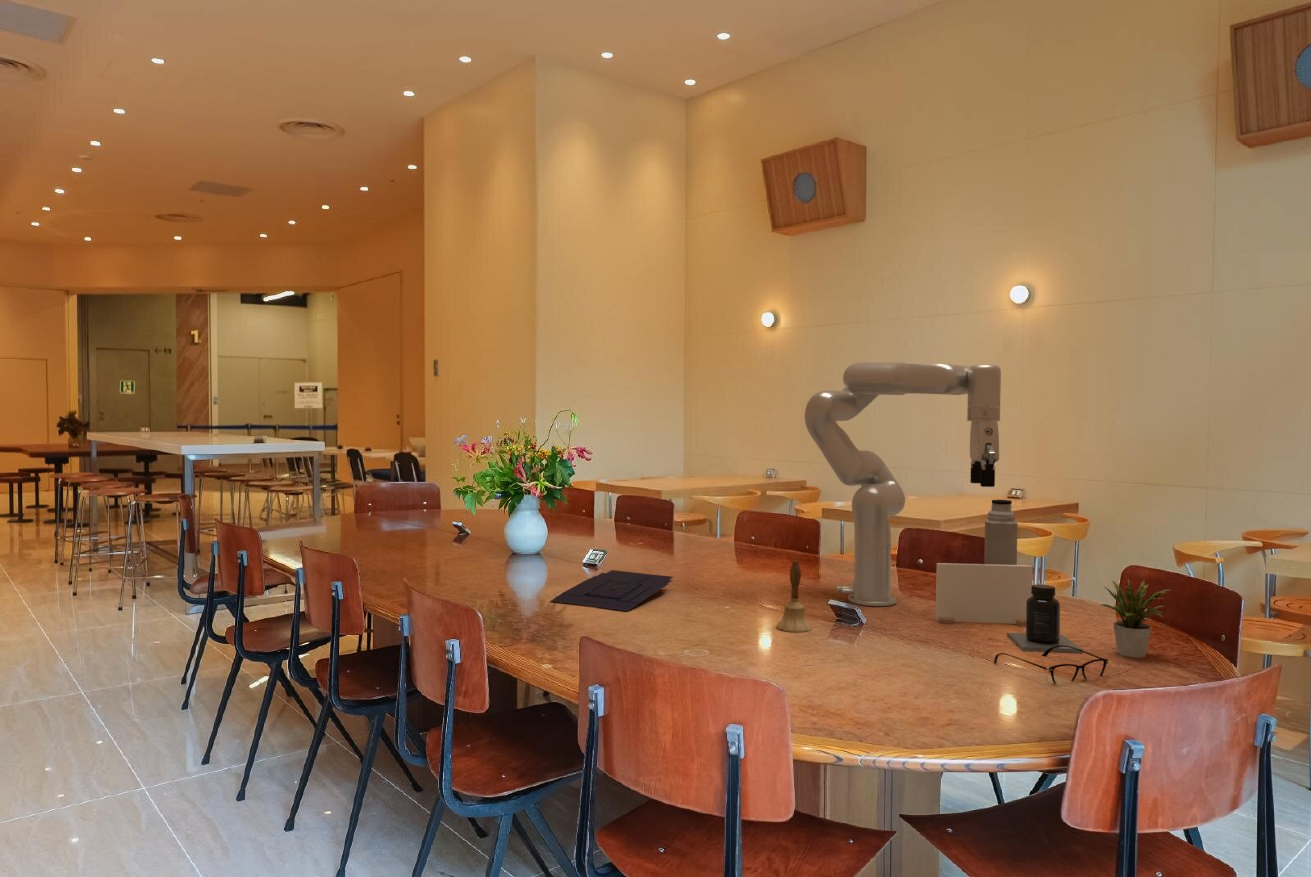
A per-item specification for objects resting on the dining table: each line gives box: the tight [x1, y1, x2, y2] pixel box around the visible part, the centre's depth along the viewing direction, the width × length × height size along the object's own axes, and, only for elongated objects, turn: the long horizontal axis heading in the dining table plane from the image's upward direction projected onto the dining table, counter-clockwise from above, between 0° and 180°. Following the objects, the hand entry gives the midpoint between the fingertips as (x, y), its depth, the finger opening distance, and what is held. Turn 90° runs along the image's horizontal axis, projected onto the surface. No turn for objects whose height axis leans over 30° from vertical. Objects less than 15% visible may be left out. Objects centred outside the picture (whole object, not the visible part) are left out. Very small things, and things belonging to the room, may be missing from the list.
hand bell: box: [775, 560, 813, 633], centre depth 200 cm, size 8×8×16 cm
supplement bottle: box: [1025, 584, 1061, 644], centre depth 187 cm, size 7×7×12 cm
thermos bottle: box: [983, 499, 1018, 565], centre depth 224 cm, size 8×8×28 cm
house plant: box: [1099, 576, 1174, 659], centre depth 178 cm, size 14×14×16 cm
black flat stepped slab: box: [550, 569, 674, 612], centre depth 234 cm, size 24×30×4 cm
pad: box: [1006, 632, 1083, 654], centre depth 187 cm, size 12×12×1 cm
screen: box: [935, 562, 1033, 627], centre depth 207 cm, size 22×6×14 cm, turn 83°
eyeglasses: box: [993, 645, 1109, 684], centre depth 169 cm, size 16×16×4 cm
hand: (982, 484), depth 209 cm, fingers open, 9 cm apart
